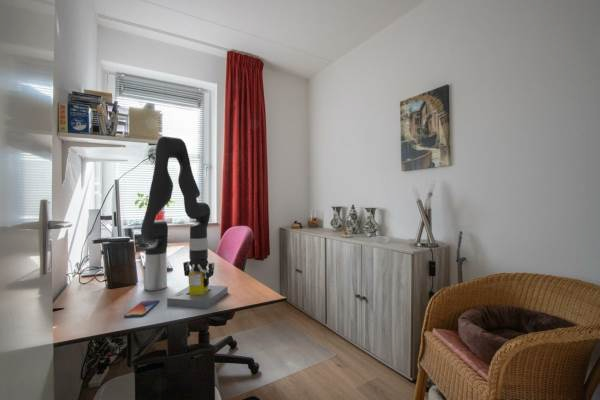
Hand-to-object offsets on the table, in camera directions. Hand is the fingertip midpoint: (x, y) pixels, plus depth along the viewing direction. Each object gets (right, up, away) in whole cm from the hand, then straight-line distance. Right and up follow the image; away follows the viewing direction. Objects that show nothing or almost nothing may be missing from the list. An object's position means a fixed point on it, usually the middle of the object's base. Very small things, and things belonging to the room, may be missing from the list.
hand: (198, 285), depth 117 cm
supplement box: (0, -5, 0) cm, 5 cm away
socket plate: (0, -6, 0) cm, 6 cm away
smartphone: (-19, -6, -10) cm, 22 cm away
